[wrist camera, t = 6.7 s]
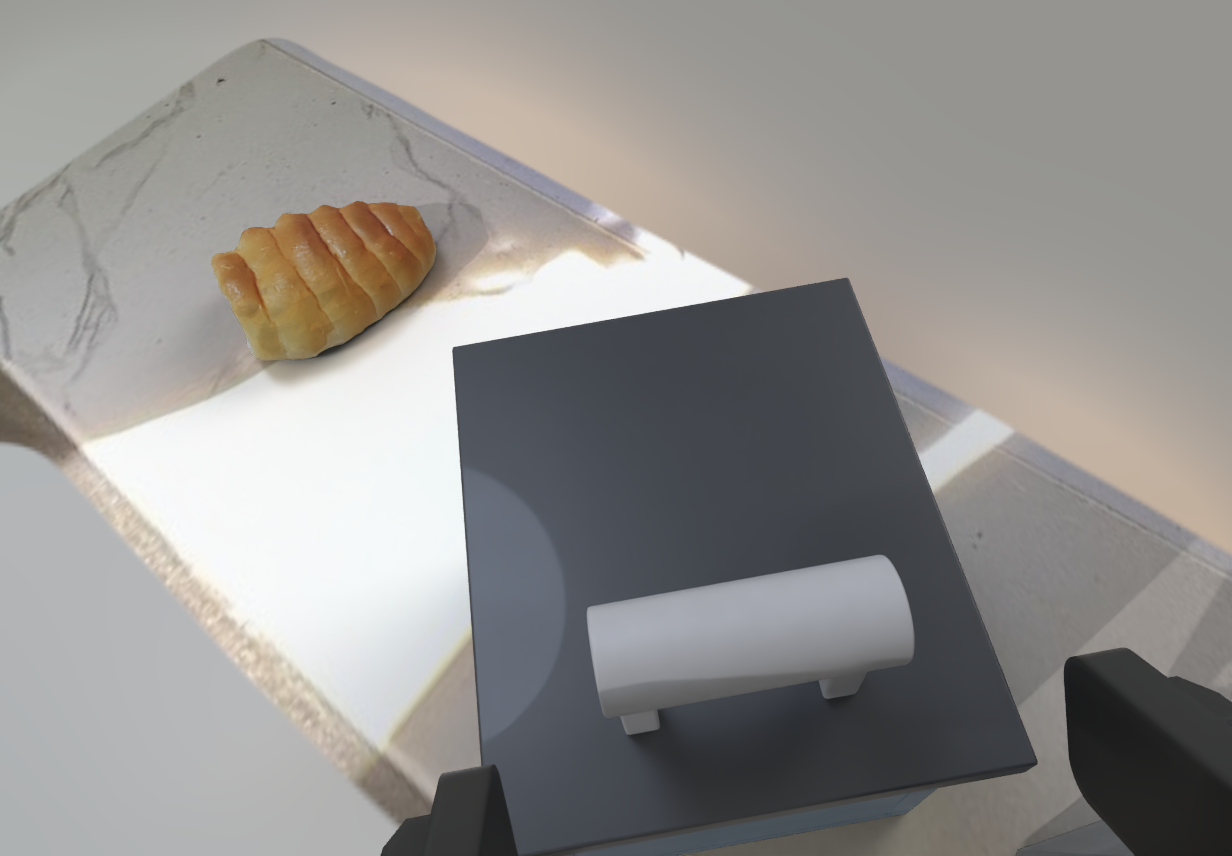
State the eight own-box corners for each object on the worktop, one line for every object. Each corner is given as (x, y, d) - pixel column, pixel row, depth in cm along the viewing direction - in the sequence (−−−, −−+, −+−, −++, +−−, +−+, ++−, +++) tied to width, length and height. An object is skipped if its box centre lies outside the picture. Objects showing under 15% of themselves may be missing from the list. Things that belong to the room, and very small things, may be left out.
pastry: (403, 203, 43) (379, 140, 40) (467, 290, 40) (446, 230, 36) (221, 293, 41) (180, 234, 38) (273, 392, 38) (233, 338, 34)
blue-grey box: (907, 813, 27) (1010, 731, 18) (565, 876, 27) (493, 825, 18) (806, 484, 33) (844, 297, 24) (527, 533, 33) (459, 365, 24)
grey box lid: (1027, 772, 17) (1147, 696, 13) (495, 869, 17) (416, 828, 13) (844, 296, 24) (879, 128, 19) (458, 363, 24) (397, 213, 19)
